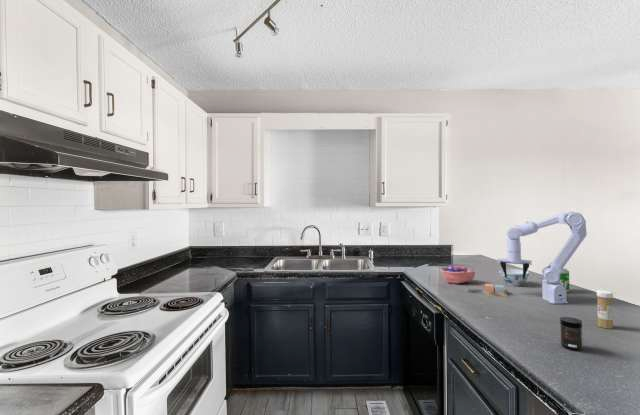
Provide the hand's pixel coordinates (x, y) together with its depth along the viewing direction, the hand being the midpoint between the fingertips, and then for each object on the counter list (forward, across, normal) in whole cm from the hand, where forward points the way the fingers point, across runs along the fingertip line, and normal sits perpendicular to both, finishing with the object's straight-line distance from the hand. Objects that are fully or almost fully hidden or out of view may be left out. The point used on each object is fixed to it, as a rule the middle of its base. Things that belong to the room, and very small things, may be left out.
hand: (514, 277), depth 161 cm
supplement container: (+10, -14, +58) cm, 60 cm away
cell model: (+10, +29, -17) cm, 35 cm away
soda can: (+10, -21, -20) cm, 31 cm away
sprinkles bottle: (+10, -28, +31) cm, 43 cm away
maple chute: (+9, +13, +1) cm, 16 cm away
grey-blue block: (+9, +7, +1) cm, 11 cm away
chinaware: (+10, 0, -27) cm, 29 cm away
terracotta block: (+9, +11, +1) cm, 14 cm away
